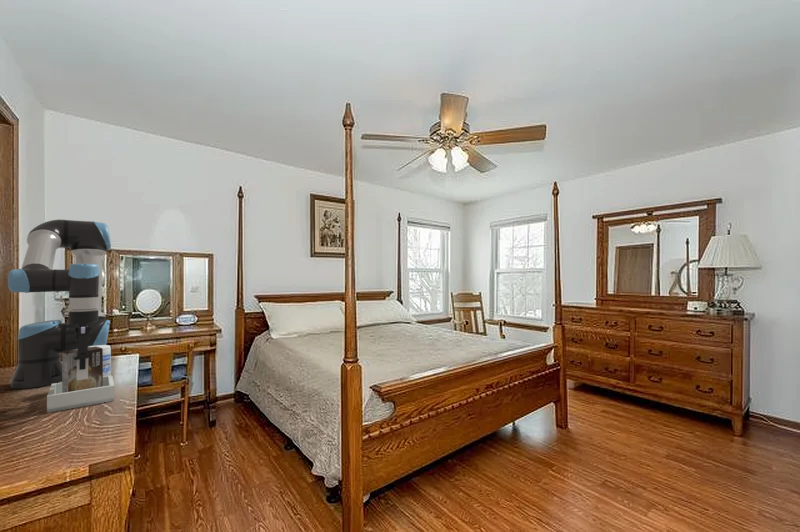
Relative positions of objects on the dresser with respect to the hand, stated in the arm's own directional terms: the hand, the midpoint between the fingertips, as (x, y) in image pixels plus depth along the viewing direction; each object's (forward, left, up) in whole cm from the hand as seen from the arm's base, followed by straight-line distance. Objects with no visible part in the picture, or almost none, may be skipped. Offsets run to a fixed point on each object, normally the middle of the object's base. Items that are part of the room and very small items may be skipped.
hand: (82, 374), depth 120 cm
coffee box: (0, 0, -8) cm, 8 cm away
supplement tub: (-17, +3, -9) cm, 19 cm away
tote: (-2, 0, -9) cm, 9 cm away
